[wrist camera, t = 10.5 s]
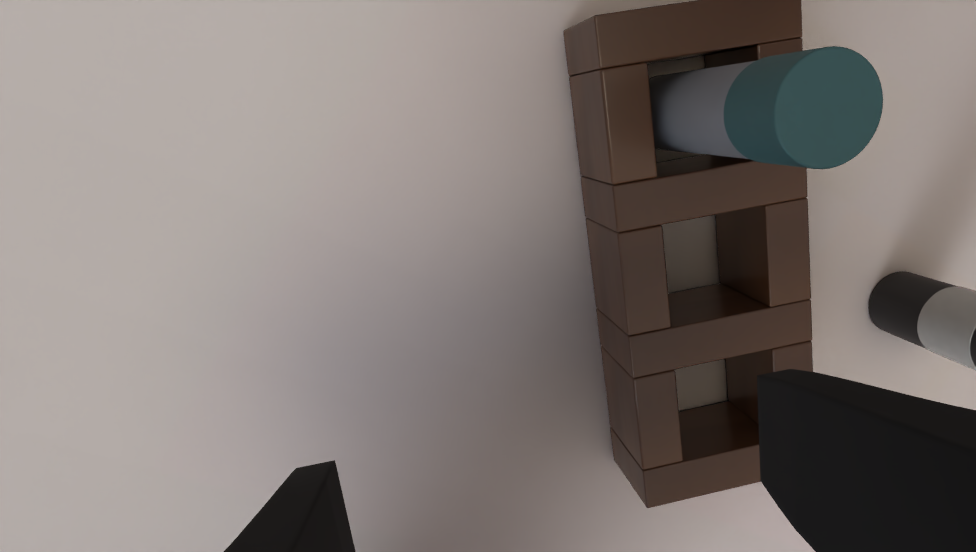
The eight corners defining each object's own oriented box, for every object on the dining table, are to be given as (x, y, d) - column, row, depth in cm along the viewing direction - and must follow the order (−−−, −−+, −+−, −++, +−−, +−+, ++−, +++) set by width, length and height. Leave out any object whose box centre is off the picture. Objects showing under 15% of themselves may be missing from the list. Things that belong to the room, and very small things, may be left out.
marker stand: (764, 426, 24) (817, 468, 21) (613, 460, 23) (647, 509, 20) (741, 3, 20) (801, -16, 17) (562, 30, 19) (594, 15, 17)
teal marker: (699, 144, 21) (884, 158, 13) (629, 156, 21) (776, 178, 13) (694, 68, 20) (884, 37, 13) (622, 79, 20) (771, 55, 12)
